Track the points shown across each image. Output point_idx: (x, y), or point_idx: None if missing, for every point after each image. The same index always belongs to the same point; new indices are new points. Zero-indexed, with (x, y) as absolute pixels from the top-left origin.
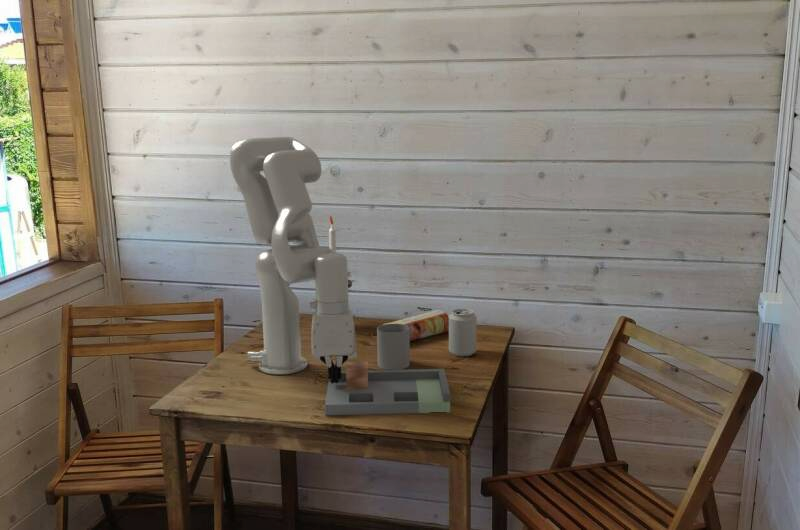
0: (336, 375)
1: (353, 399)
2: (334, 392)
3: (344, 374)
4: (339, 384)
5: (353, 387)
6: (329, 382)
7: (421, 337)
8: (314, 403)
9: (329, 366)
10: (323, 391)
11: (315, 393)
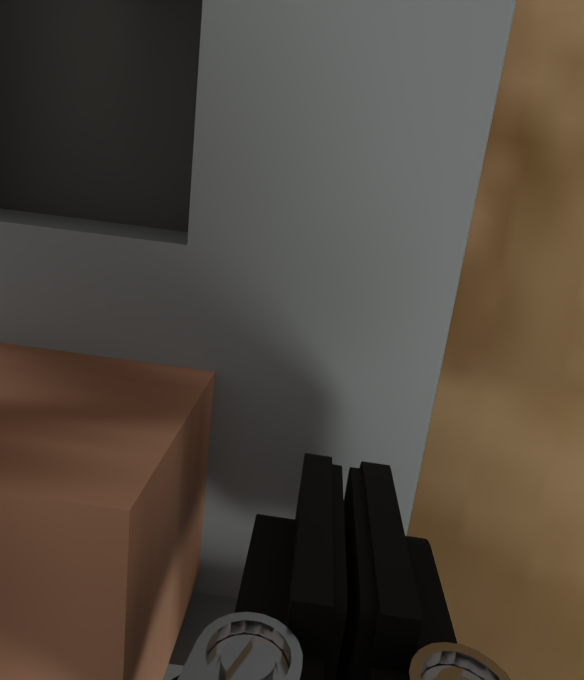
0: (317, 511)
1: (164, 233)
2: (360, 307)
3: None
4: None
5: (130, 368)
6: None
7: None
8: (554, 303)
9: (445, 665)
10: None
11: (504, 530)
